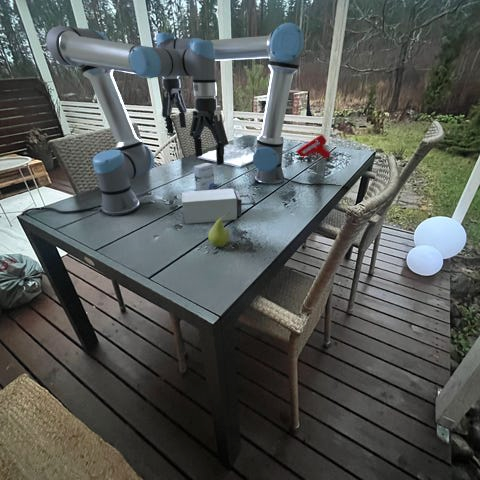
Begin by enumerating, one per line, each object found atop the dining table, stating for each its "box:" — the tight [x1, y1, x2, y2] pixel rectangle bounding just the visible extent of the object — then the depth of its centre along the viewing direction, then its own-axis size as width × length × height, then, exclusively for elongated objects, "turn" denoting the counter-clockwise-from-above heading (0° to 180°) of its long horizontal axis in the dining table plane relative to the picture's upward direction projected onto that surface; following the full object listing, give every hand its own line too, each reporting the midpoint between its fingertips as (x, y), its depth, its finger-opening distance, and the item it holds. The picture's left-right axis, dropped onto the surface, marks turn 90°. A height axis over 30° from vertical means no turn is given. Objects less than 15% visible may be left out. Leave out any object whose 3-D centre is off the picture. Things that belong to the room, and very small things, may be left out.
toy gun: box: [296, 133, 331, 161], centre depth 176 cm, size 18×4×15 cm
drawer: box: [234, 190, 256, 217], centre depth 109 cm, size 25×9×7 cm, turn 100°
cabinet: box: [181, 187, 238, 225], centre depth 109 cm, size 20×10×9 cm, turn 100°
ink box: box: [193, 162, 215, 191], centre depth 132 cm, size 8×5×12 cm, turn 135°
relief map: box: [197, 143, 255, 168], centre depth 180 cm, size 27×35×5 cm
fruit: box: [207, 212, 230, 248], centre depth 89 cm, size 7×8×12 cm
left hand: (209, 160), depth 103 cm, fingers open, 13 cm apart
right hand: (177, 130), depth 128 cm, fingers open, 13 cm apart
